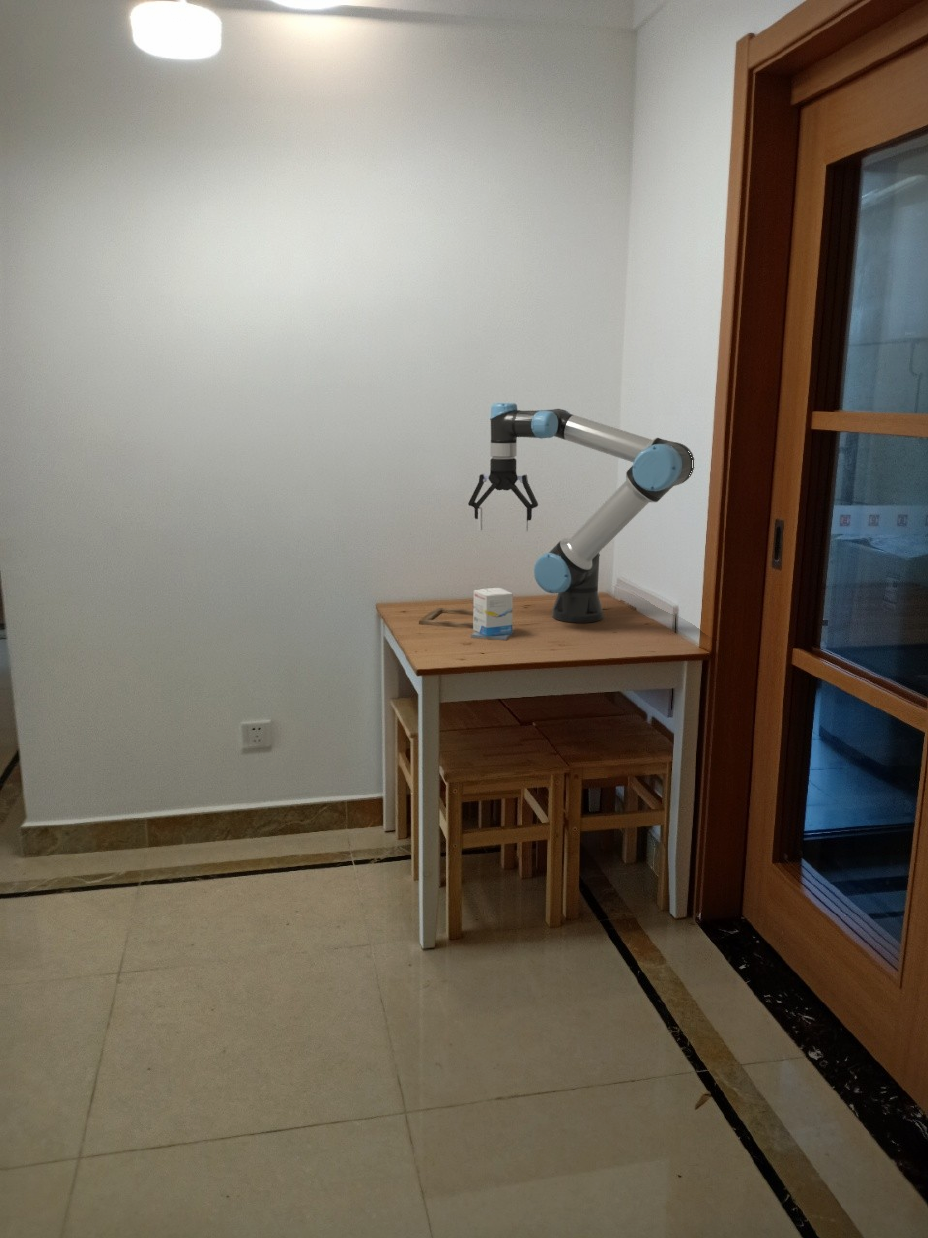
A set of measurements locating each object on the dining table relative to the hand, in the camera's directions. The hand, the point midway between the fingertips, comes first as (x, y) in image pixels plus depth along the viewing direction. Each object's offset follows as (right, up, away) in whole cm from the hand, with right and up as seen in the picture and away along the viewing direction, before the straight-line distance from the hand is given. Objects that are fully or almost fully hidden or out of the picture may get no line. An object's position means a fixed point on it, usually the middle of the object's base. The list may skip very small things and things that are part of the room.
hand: (502, 530), depth 297 cm
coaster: (-3, -30, -13) cm, 33 cm away
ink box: (-3, -30, -13) cm, 32 cm away
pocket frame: (-14, -26, +5) cm, 30 cm away
